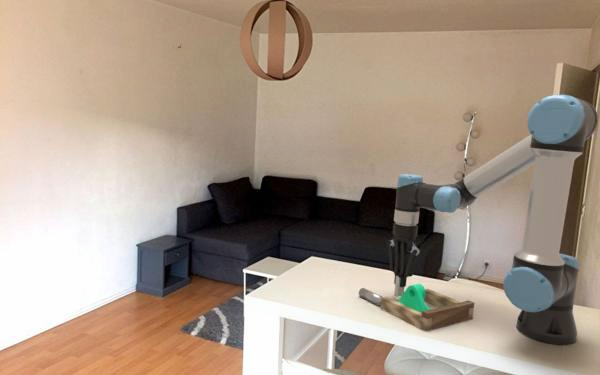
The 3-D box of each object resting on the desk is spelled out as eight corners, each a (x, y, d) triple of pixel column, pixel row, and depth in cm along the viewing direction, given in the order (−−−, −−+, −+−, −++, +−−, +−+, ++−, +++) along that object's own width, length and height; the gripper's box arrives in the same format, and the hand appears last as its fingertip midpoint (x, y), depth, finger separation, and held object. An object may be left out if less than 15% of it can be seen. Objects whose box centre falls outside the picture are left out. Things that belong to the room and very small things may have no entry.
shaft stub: (378, 305, 147) (384, 308, 148) (382, 296, 147) (388, 299, 149) (357, 295, 155) (363, 297, 157) (361, 286, 155) (367, 289, 157)
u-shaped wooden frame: (472, 318, 142) (474, 302, 142) (425, 331, 131) (427, 313, 131) (426, 298, 157) (427, 284, 156) (380, 308, 146) (382, 292, 146)
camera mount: (443, 323, 138) (447, 288, 137) (425, 327, 134) (428, 292, 133) (413, 308, 148) (415, 276, 147) (394, 312, 144) (397, 279, 143)
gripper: (430, 227, 147) (422, 300, 150) (399, 218, 158) (393, 287, 161) (412, 228, 143) (405, 304, 146) (382, 219, 154) (376, 290, 157)
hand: (398, 295), depth 153 cm, fingers closed
